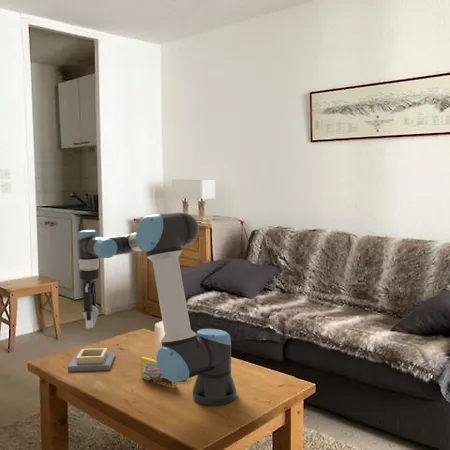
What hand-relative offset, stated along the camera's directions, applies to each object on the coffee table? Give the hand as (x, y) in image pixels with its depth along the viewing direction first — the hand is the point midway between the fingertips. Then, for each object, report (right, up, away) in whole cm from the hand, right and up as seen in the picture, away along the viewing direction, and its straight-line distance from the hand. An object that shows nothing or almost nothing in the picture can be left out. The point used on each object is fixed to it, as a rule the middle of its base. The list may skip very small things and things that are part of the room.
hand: (91, 325), depth 212 cm
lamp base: (0, -16, +2) cm, 16 cm away
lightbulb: (0, -3, 0) cm, 3 cm away
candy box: (+30, -18, -18) cm, 39 cm away
